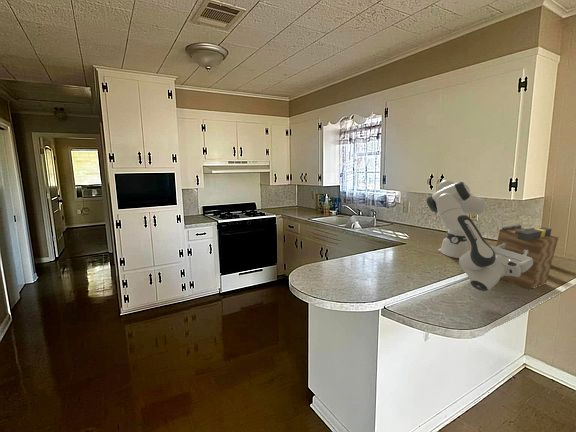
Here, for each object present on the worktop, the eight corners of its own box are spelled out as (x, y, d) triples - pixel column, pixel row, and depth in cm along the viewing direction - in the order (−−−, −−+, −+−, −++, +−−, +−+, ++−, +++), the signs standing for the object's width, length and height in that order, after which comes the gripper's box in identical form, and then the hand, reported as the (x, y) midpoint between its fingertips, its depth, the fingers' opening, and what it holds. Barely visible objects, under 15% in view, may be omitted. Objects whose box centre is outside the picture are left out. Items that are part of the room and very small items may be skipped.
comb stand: (530, 289, 162) (543, 238, 155) (489, 274, 179) (500, 226, 172) (545, 284, 169) (559, 234, 162) (505, 269, 186) (516, 223, 179)
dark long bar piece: (542, 233, 168) (543, 227, 167) (550, 235, 165) (551, 229, 164) (517, 238, 157) (519, 232, 156) (525, 241, 154) (527, 234, 153)
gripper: (477, 262, 160) (494, 245, 164) (523, 278, 143) (540, 259, 147) (475, 252, 157) (492, 236, 161) (521, 268, 140) (539, 249, 144)
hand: (515, 247), depth 154 cm, fingers open, 8 cm apart
